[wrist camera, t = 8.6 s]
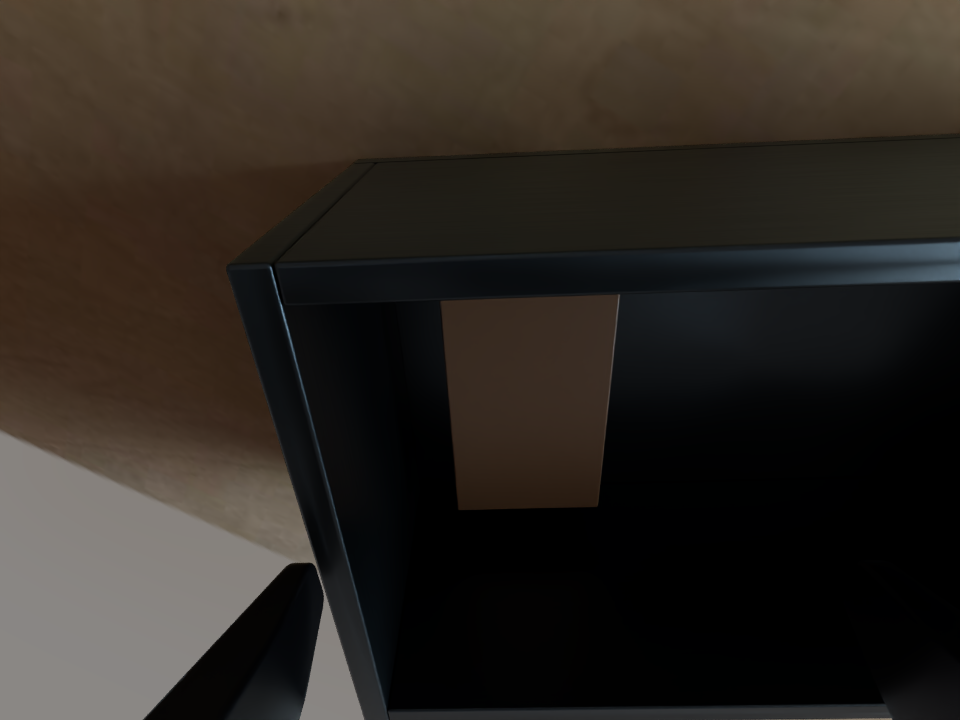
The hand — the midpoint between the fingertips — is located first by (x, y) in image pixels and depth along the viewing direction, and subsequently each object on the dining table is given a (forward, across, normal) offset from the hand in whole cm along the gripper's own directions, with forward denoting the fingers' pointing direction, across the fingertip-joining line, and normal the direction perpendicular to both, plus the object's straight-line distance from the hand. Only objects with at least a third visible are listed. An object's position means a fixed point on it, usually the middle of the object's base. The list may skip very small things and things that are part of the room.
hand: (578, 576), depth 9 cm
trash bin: (+8, -6, 0) cm, 10 cm away
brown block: (+7, +1, 0) cm, 7 cm away
